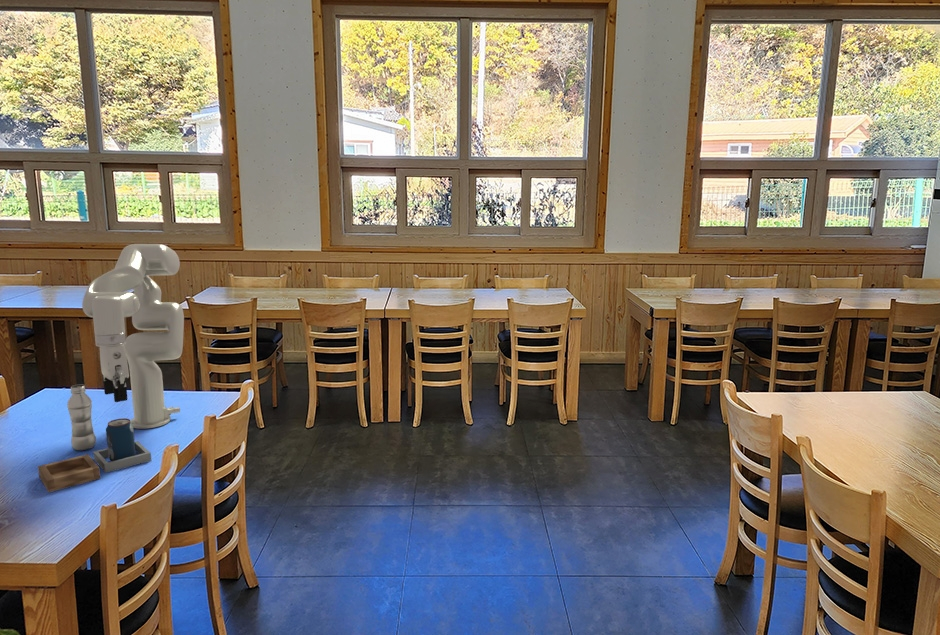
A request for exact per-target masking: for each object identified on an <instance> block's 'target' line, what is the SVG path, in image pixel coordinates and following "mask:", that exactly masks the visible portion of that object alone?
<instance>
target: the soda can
mask: <svg viewBox="0 0 940 635" xmlns="http://www.w3.org/2000/svg"><path fill="white" fill-rule="evenodd" d="M130 420H131V419H130V418H116V419H113V420H110V421H109V422H107V425H106V428H105V435H106V436H105V437H106V443H107V444H106V445H107V448H108V456H109V457H108V460H109V462H112V461H116V460H120V459H123V458H127V457H131V456H135V455H137V454H136V452H137V451H135V442H136V441H135V432H134V428H133V425H132V423H131V422H130Z"/></svg>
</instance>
